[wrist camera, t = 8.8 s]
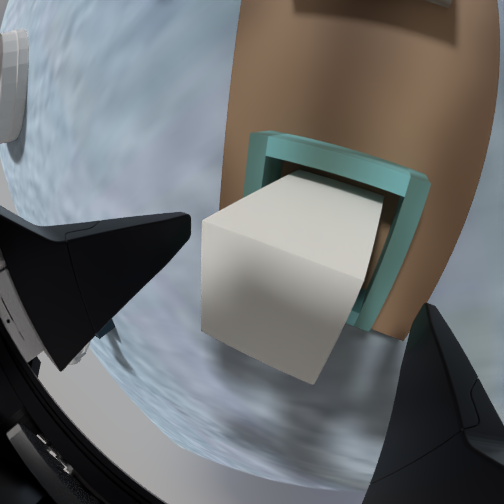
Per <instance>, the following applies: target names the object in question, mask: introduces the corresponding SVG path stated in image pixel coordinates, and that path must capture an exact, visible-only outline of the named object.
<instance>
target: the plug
mask: <svg viewBox="0 0 504 504" xmlns="http://www.w3.org/2000/svg"><path fill="white" fill-rule="evenodd" d="M383 199H384V196H382V195H380V194H377V193H374V192H371V191H368V190H365V189H362V188H359V187H356V186H353V185H350V184H347V183H344V182H340V181H337V180H334V179H331V178H327V177H324V176H320V175H317V174H313V173H310V172H306V171H303V170H297V171H295V172H293V173H291V174H289V175H287V176H285V177H283V178H281V179H279V180H277V181H275V182H273V183H271V184H269V185H267V186H265V187H263V188H261V189H259V190H257V191H255V192H254V193H252V194H250V195H248V196H246V197H244V198H242V199H240V200H238V201H237V202H235V203H233V204H231V205H229V206H227V207H226V208H224V209H222V210H220V211H218V212H216V213H215V214H213V215H211V216H209V217H207V218H206V219H204V220H202V246H201V331H202V332H204V333H206V334H208V335H210V336H212V337H213V338H215V339H217V340H219V341H221V342H223V343H225V344H227V345H229V346H230V347H232V348H234V349H236V350H238V351H240V352H242V353H244V354H246V355H248V356H250V357H252V358H254V359H256V360H258V361H260V362H263V363H265V364H267V365H269V366H271V367H273V368H275V369H277V370H280V371H282V372H284V373H286V374H289V375H291V376H293V377H295V378H298V379H300V380H302V381H305V382H307V383H309V384H312V385H314V384H315V382H316V380H317V378H318V376H319V375H320V373H321V371H322V369H323V367H324V365H325V363H326V361H327V359H328V358H329V356H330V354H331V352H332V350H333V348H334V346H335V344H336V342H337V340H338V338H339V336H340V333H341V331H342V329H343V327H344V325H345V323H346V321H347V319H348V316H349V314H350V312H351V310H352V307H353V305H354V303H355V301H356V298H357V296H358V294H359V291H360V289H361V287H362V284H363V282H364V279H365V275H366V272H367V268H368V264H369V261H370V257H371V253H372V249H373V245H374V241H375V237H376V232H377V228H378V224H379V219H380V214H381V209H382V205H383Z"/></svg>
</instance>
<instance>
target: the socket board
mask: <svg viewBox="0 0 504 504" xmlns="http://www.w3.org/2000/svg"><path fill="white" fill-rule="evenodd" d="M499 62H500V29H499V13H498V3H497V0H241V7H240V14H239V21H238V28H237V35H236V43H235V50H234V58H233V67H232V75H231V84H230V93H229V102H228V112H227V122H226V132H225V143H224V155H223V167H222V180H221V193H220V207H219V211H220V210H222V209H224V208H226V207H227V206H229V205H231V204H233V203H235V202H237V201H238V200H240V199H242V198H244V197H246V196H248V195H250V194H252V193H254V192H255V191H257V190H259V189H261V188H263V187H265V186H267V185H269V184H271V183H273V182H275V181H277V180H279V179H281V178H283V177H285V176H287V175H289V174H291V173H293V172H295V171H297V170H303V171H306V172H310V173H313V174H317V175H320V176H324V177H327V178H331V179H334V180H337V181H340V182H344V183H347V184H350V185H353V186H356V187H359V188H362V189H365V190H368V191H371V192H374V193H377V194H380V195H382V196H384V199H383V205H382V209H381V214H380V219H379V224H378V228H377V232H376V237H375V241H374V245H373V249H372V253H371V257H370V261H369V264H368V268H367V272H366V275H365V279H364V282H363V284H362V287H361V289H360V291H359V294H358V296H357V298H356V301H355V303H354V305H353V307H352V310H351V312H350V314H349V316H348V319H347V321H346V323H347V324H349V325H352V326H354V327H357V328H359V329H362V330H365V331H367V332H369V331H370V329H373V330H375V331H378V332H381V333H383V334H386V335H389V336H391V337H394V338H397V339H399V340H402V341H404V339H405V338H406V336H407V335H408V333H409V332H410V329H411V325H412V323H413V321H414V319H415V317H416V316H417V314H418V312H419V310H420V309H421V307H422V305H423V304H424V303H427V301H428V300H429V298H430V296H431V294H432V292H433V290H434V289H435V287H436V285H437V283H438V281H439V279H440V277H441V275H442V273H443V271H444V269H445V267H446V265H447V263H448V260H449V258H450V256H451V254H452V252H453V249H454V247H455V245H456V243H457V240H458V238H459V235H460V233H461V231H462V228H463V226H464V223H465V220H466V218H467V215H468V212H469V210H470V207H471V204H472V201H473V198H474V195H475V192H476V189H477V186H478V182H479V179H480V176H481V172H482V169H483V165H484V161H485V157H486V153H487V149H488V144H489V140H490V135H491V130H492V125H493V119H494V113H495V106H496V98H497V90H498V79H499Z"/></svg>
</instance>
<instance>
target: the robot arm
mask: <svg viewBox="0 0 504 504" xmlns="http://www.w3.org/2000/svg"><path fill="white" fill-rule="evenodd" d="M190 236H191V217H190V215H189V214H186V213H183V212H174V213H163V214H153V215H143V216H134V217H125V218H117V219H108V220H102V221H92V222H84V223H75V224H65V225H55V226H37V225H34V224H32V223H30V222H28V221H26V220H24V219H23V218H21V217H19V216H17V215H15V214H14V213H12V212H10V211H9V210H7V209H5V208H4V207H2V206H0V504H167V503H166V502H164V501H163V500H161V499H160V498H158V497H157V496H156V495H154V494H153V493H151V492H150V491H149V490H147V489H146V488H145V487H143V486H142V485H141V484H139V483H138V482H137V481H135V480H134V479H133V478H132V477H130V476H129V475H128V474H127V473H126V472H124V471H123V470H122V469H121V468H119V467H118V466H117V465H116V464H115V463H114V462H112V461H111V460H110V459H109V458H108V457H107V456H106V455H105V454H104V453H103V452H102V451H101V450H100V449H99V448H97V447H96V446H95V445H94V444H93V443H92V442H91V441H90V440H89V439H88V438H87V437H86V435H85V434H84V433H83V432H82V431H81V430H80V429H79V428H78V427H77V426H76V425H75V424H74V423H73V422H72V420H71V419H70V418H69V417H68V416H67V415H66V414H65V412H64V411H63V410H62V409H61V408H60V406H59V405H58V404H57V403H56V402H55V400H54V399H53V398H52V396H51V395H50V394H49V393H48V391H47V390H46V389H45V387H44V386H43V385H42V383H41V382H40V380H39V379H38V374H39V369H40V364H41V362H40V360H39V359H38V357H37V355H38V354H40V353H41V352H42V351H44V352H45V353H46V354H47V356H48V357H49V358H50V360H51V361H52V362H53V363H54V365H55V366H56V367H57V368H58V370H59V371H62V370H63V369H65V368H66V366H67V365H68V364H69V363H70V362H71V361H72V360H73V359H74V358H75V357H76V356H77V354H78V353H79V352H80V351H81V350H82V349H83V348H84V347H85V346H86V345H87V344H88V343H89V342H90V341H91V340H92V338H93V337H94V336H95V334H97V333H98V332H99V331H100V330H101V329H102V328H103V327H104V326H105V325H106V324H107V323H108V322H109V321H110V320H111V319H112V318H113V317H114V316H115V315H116V314H117V313H118V312H119V311H120V310H121V309H122V308H123V307H124V306H125V305H126V304H127V303H128V302H129V301H130V300H131V299H132V298H133V297H134V296H135V295H136V294H137V293H138V292H139V291H140V290H141V289H142V288H143V287H144V286H145V285H146V284H147V283H148V282H149V281H150V280H151V279H152V278H153V277H154V276H155V275H156V274H157V273H158V272H159V271H161V270H162V269H163V268H164V267H165V266H166V265H167V264H168V262H169V261H170V260H171V259H172V258H173V257H174V256H175V255H176V253H177V252H178V251H179V250H180V249H181V248H182V247H183V245H184V244H185V243H186V242H187V241H188V240H189V238H190ZM477 378H478V376H477V374H476V372H475V370H474V369H473V367H472V365H471V363H470V361H469V360H468V358H467V356H466V354H465V353H464V351H463V349H462V347H461V346H460V344H459V342H458V341H457V339H456V337H455V336H454V334H453V333H452V331H451V329H450V328H449V326H448V325H447V323H446V322H445V320H444V318H443V317H442V315H441V314H440V312H439V311H438V309H437V308H436V307H435V306H434V305H431V304H429V303H424V304H423V305H422V307H421V309H420V310H419V312H418V314H417V316H416V317H415V319H414V321H413V323H412V325H411V329H410V333H409V337H408V342H407V346H406V350H405V353H404V357H403V361H402V365H401V370H400V376H399V381H398V386H397V391H396V396H395V401H394V405H393V410H392V414H391V418H390V422H389V426H388V430H387V433H386V437H385V441H384V444H383V447H382V451H381V454H380V457H379V460H378V463H377V466H376V469H375V472H374V475H373V477H372V480H371V483H370V485H369V488H368V490H367V493H366V495H365V497H364V500H363V502H362V504H504V425H503V423H502V421H501V419H500V417H499V416H498V414H497V412H496V410H495V408H494V406H493V405H492V403H491V401H490V399H489V397H488V395H487V393H486V391H485V390H484V388H483V386H482V384H481V382H480V380H479V379H477ZM37 434H38V435H39V436H40V437H41V438H42V439H43V440H44V441H45V442H46V444H44V443H43V442H42V441H41V440H40V439H39V438H38V437H37V436H36V435H37ZM49 451H53V452H54V453H55V454H56V455H57V456H56V458H57V459H58V460H59V461H58V460H57V459H56V458H55V457H53V456H52V455H51V454H50V453H49ZM62 463H63V464H64V465H65V466H67V470H68V471H69V474H68V473H67V472H65V471H64V470H63V469H64V468H65V467H64V465H63V464H62Z"/></svg>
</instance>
